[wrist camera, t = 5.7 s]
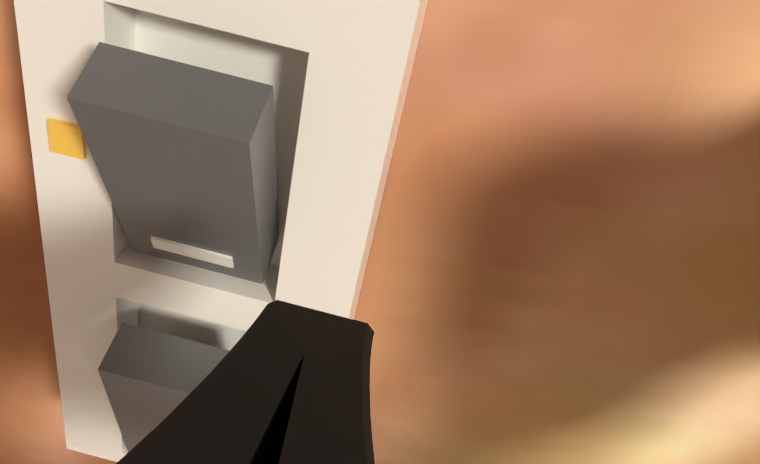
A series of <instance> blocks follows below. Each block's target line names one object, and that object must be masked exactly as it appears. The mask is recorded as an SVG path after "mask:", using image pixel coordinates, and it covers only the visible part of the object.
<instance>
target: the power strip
mask: <svg viewBox="0 0 760 464" xmlns="http://www.w3.org/2000/svg"><path fill="white" fill-rule="evenodd" d="M427 3H428V0H14V7H15V15H16V23H17V32H18V40H19V49H20V57H21V66H22V74H23V83H24V91H25V100H26V108H27V117H28V125H29V134H30V142H31V150H32V159H33V167H34V176H35V184H36V193H37V201H38V210H39V218H40V227H41V235H42V244H43V252H44V261H45V269H46V278H47V286H48V294H49V303H50V311H51V320H52V328H53V337H54V345H55V354H56V362H57V371H58V379H59V388H60V396H61V405H62V413H63V421H64V430H65V438H66V447H67V449H70V450H74V451H78V452H81V453H85V454H89V455H92V456H96V457H100V458H104V459H107V460H111V461H115V462H118V461H119V460H121V459H122V458H123V457H124V456H125V455H126V454H127V453H128V450H127V448H126V445H125V442H124V440H123V437H122V434H121V431H120V429H119V426H118V423H117V420H116V418H115V415H114V412H113V410H112V407H111V404H110V401H109V399H108V396H107V393H106V391H105V388H104V385H103V382H102V380H101V377H100V374H99V372H98V368H99V366H100V364H101V362H102V360H103V358H104V356H105V354H106V352H107V350H108V348H109V346H110V344H111V343H112V341H113V339H114V337H115V335H116V333H117V331H118V329H119V327H120V325H121V323H122V322H123V323H127V324H131V325H135V326H138V327H142V328H146V329H150V330H154V331H157V332H161V333H165V334H169V335H173V336H176V337H180V338H184V339H188V340H192V341H195V342H199V343H203V344H207V345H211V346H215V347H218V348H222V349H226V350H231V349H232V348H233V347H234V346H235V344H236V343H237V342H238V341H239V340H240V339H241V337H242V336H243V335H244V334H245V333H246V331H247V330H248V329H249V328H250V326H251V325H252V324H253V323H254V321H255V320H256V319H257V318H258V316H259V315H260V314H261V312H262V311H263V309H264V308H265V307H266V305H267V304H268V303H271V302H273V301H275V300H280V301H284V302H287V303H291V304H295V305H299V306H303V307H307V308H310V309H314V310H318V311H322V312H326V313H330V314H334V315H337V316H341V317H345V318H349V319H353V320H354V317H355V313H356V309H357V304H358V300H359V296H360V291H361V287H362V283H363V279H364V274H365V270H366V266H367V261H368V257H369V253H370V248H371V244H372V240H373V235H374V231H375V227H376V223H377V218H378V214H379V210H380V205H381V201H382V197H383V192H384V188H385V184H386V179H387V175H388V171H389V167H390V162H391V158H392V154H393V149H394V145H395V141H396V136H397V132H398V128H399V123H400V119H401V115H402V110H403V106H404V102H405V98H406V93H407V89H408V85H409V80H410V76H411V72H412V67H413V63H414V59H415V54H416V50H417V46H418V42H419V37H420V33H421V29H422V24H423V20H424V16H425V11H426V7H427ZM99 42H102V43H106V44H110V45H114V46H118V47H122V48H126V49H130V50H134V51H138V52H142V53H146V54H150V55H154V56H158V57H162V58H166V59H169V60H173V61H177V62H181V63H185V64H189V65H193V66H197V67H201V68H205V69H209V70H213V71H217V72H221V73H225V74H229V75H233V76H237V77H241V78H245V79H248V80H252V81H256V82H260V83H264V84H268V85H272V86H273V98H274V122H275V145H276V169H277V192H278V216H279V240H278V242H277V245H276V248H275V251H274V254H273V257H272V260H271V262H270V265H269V268H268V271H267V274H266V277H265V279H264V282H263V284H260V283H256V282H252V281H248V280H245V279H241V278H237V277H233V276H229V275H225V274H222V273H218V272H214V271H210V270H206V269H202V268H199V267H195V266H191V265H187V264H183V263H179V262H175V261H172V260H168V259H164V258H160V257H156V256H152V255H149V254H145V253H141V252H137V251H133V250H132V248H131V245H130V243H129V241H128V238H127V236H126V234H125V231H124V229H123V227H122V225H121V222H120V220H119V218H118V215H117V213H116V211H115V208H114V206H113V204H112V201H111V199H110V197H109V194H108V192H107V190H106V187H105V185H104V183H103V180H102V178H101V176H100V173H99V171H98V169H97V167H96V164H95V162H94V160H93V157H92V155H91V153H90V150H89V148H88V146H87V143H86V141H85V139H84V136H83V134H82V132H81V129H80V127H79V125H78V122H77V120H76V118H75V115H74V113H73V111H72V109H71V106H70V104H69V102H68V99H67V96H68V94H69V93H70V91H71V89H72V87H73V86H74V84H75V82H76V81H77V79H78V77H79V76H80V74H81V72H82V70H83V69H84V67H85V65H86V64H87V62H88V60H89V59H90V57H91V55H92V53H93V52H94V50H95V48H96V47H97V45H98V43H99Z"/></svg>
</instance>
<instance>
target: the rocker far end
mask: <svg viewBox="0 0 760 464" xmlns="http://www.w3.org/2000/svg"><path fill="white" fill-rule="evenodd" d="M229 351H230V350H226V349H222V348H218V347H215V346H211V345H207V344H203V343H199V342H195V341H192V340H188V339H184V338H180V337H176V336H173V335H169V334H165V333H161V332H157V331H154V330H150V329H146V328H142V327H138V326H135V325H131V324H127V323H123V322H122V323H121V325H120V327H119V329H118V331H117V333H116V335H115V337H114V339H113V341H112V343H111V344H110V346H109V348H108V350H107V352H106V354H105V356H104V358H103V360H102V362H101V364H100V366H99V368H98V372H99V374H100V377H101V380H102V382H103V385H104V388H105V391H106V393H107V396H108V399H109V401H110V404H111V407H112V410H113V412H114V415H115V418H116V420H117V423H118V426H119V429H120V431H121V434H122V437H123V440H124V442H125V445H126V448H127V450H128V452H129V451H130V450H131V449H133V448H134V447H135V446H136V445H137V444H138V443H139V442H140V441H141V440H142V439H144V438H145V437H146V436H147V435H148V434H149V433H150V432H151V431H152V430H153V429H154V428H156V427H157V426H158V425H159V424H160V423H161V422H162V421H163V420H164V419H165V418H166V417H167V416H168V415H169V414H170V413H171V412H172V411H173V410H174V409H175V408H176V407H177V406H178V405H179V404H180V403H181V402H182V401H183V400H184V399H185V398H186V397H187V396H188V395H189V394H190V393H191V392H192V391H193V390H194V389H195V388H196V387H197V386H198V385H199V384H200V383H201V382H202V381H203V380H204V379H205V378H206V376H207V375H208V374H209V373H210V372H211V371H212V370H213V369H214V368H215V367H216V366H217V365H218V364H219V362H220V361H221V360H222V359H223V358H224V357H225V356H226V355H227V354H228V352H229Z"/></svg>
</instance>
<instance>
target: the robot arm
mask: <svg viewBox="0 0 760 464" xmlns="http://www.w3.org/2000/svg"><path fill="white" fill-rule="evenodd" d="M373 335H374V331H373V330H372V329H371V327H370V326H369V325H368V323H364V322H360V321H357V320H353V319H349V318H345V317H341V316H337V315H334V314H330V313H326V312H322V311H318V310H314V309H310V308H307V307H303V306H299V305H295V304H291V303H287V302H284V301H280V300H275V301H273V302H271V303H268V304H267V305H266V307H265V308H264V309H263V311H262V312H261V314H260V315H259V316H258V318H257V319H256V320H255V321H254V323H253V324H252V325H251V326H250V328H249V329H248V330H247V331H246V333H245V334H244V335H243V336H242V337H241V339H240V340H239V341H238V342H237V343H236V344H235V346H234V347H233V348H232V349H231V350H230V351H229V352H228V354H227V355H226V356H225V357H224V358H223V359H222V360H221V361H220V362H219V364H218V365H217V366H216V367H215V368H214V369H213V370H212V371H211V372H210V373H209V374H208V375H207V376H206V378H205V379H204V380H203V381H202V382H201V383H200V384H199V385H198V386H197V387H196V388H195V389H194V390H193V391H192V392H191V393H190V394H189V395H188V396H187V397H186V398H185V399H184V400H183V401H182V402H181V403H180V404H179V405H178V406H177V407H176V408H175V409H174V410H173V411H172V412H171V413H170V414H169V415H168V416H167V417H166V418H165V419H164V420H163V421H162V422H161V423H160V424H159V425H158V426H157V427H156V428H154V429H153V430H152V431H151V432H150V433H149V434H148V435H147V436H146V437H145V438H144V439H142V440H141V441H140V442H139V443H138V444H137V445H136V446H135V447H134V448H133V449H131V450H130V451H129V452H128V453H127V454H126V455H125V456H124V457H123V458H122V459H121V460H119V461H118V462H117V463H116V464H375V463H374V453H373V443H372V433H371V418H370V388H369V385H370V357H371V347H372V340H373Z"/></svg>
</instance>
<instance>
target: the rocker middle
mask: <svg viewBox="0 0 760 464" xmlns="http://www.w3.org/2000/svg"><path fill="white" fill-rule="evenodd" d="M67 99H68V102H69V104H70V106H71V109H72V111H73V113H74V115H75V118H76V120H77V122H78V125H79V127H80V129H81V132H82V134H83V136H84V139H85V141H86V143H87V146H88V148H89V150H90V153H91V155H92V157H93V160H94V162H95V164H96V167H97V169H98V171H99V173H100V176H101V178H102V180H103V183H104V185H105V187H106V190H107V192H108V194H109V197H110V199H111V201H112V204H113V206H114V208H115V211H116V213H117V215H118V218H119V220H120V222H121V225H122V227H123V229H124V231H125V234H126V236H127V238H128V241H129V243H130V245H131V248H132V250H133V251H137V252H141V253H145V254H149V255H152V256H156V257H160V258H164V259H168V260H172V261H175V262H179V263H183V264H187V265H191V266H195V267H199V268H202V269H206V270H210V271H214V272H218V273H222V274H225V275H229V276H233V277H237V278H241V279H245V280H248V281H252V282H256V283H260V284H263V282H264V279H265V277H266V274H267V271H268V268H269V265H270V262H271V260H272V257H273V254H274V251H275V248H276V245H277V242H278V240H279V216H278V192H277V169H276V145H275V122H274V98H273V86H272V85H268V84H264V83H260V82H256V81H252V80H248V79H245V78H241V77H237V76H233V75H229V74H225V73H221V72H217V71H213V70H209V69H205V68H201V67H197V66H193V65H189V64H185V63H181V62H177V61H173V60H169V59H166V58H162V57H158V56H154V55H150V54H146V53H142V52H138V51H134V50H130V49H126V48H122V47H118V46H114V45H110V44H106V43H102V42H99V43H98V45H97V47H96V48H95V50H94V52H93V53H92V55H91V57H90V59H89V60H88V62H87V64H86V65H85V67H84V69H83V70H82V72H81V74H80V76H79V77H78V79H77V81H76V82H75V84H74V86H73V87H72V89H71V91H70V93H69V94H68V96H67Z"/></svg>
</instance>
